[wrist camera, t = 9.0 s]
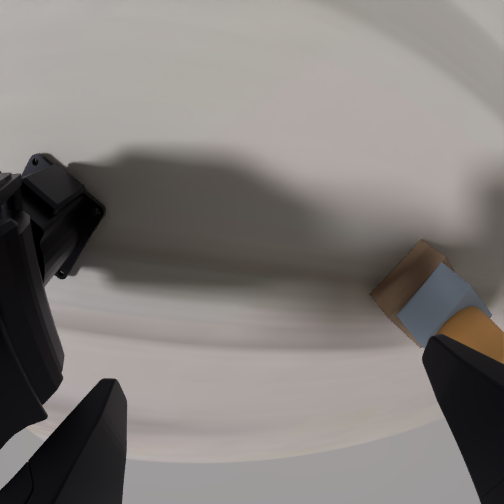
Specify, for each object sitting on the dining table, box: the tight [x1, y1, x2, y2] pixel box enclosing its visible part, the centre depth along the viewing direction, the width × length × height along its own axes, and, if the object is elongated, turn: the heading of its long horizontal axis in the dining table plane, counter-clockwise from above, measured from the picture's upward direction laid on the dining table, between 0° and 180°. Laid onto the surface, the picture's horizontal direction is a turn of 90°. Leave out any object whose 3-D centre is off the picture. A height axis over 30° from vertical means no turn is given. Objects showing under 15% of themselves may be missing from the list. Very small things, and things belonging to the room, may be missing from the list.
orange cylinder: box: [436, 306, 504, 364], centre depth 16 cm, size 5×5×4 cm
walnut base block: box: [370, 239, 455, 348], centre depth 22 cm, size 6×6×4 cm
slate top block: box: [397, 262, 492, 349], centre depth 19 cm, size 5×5×4 cm
